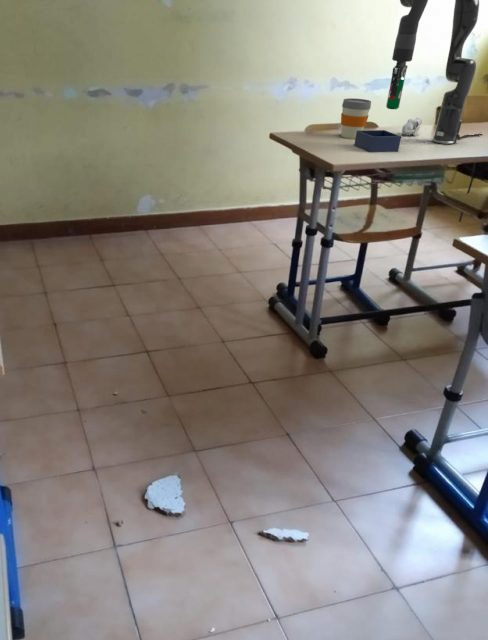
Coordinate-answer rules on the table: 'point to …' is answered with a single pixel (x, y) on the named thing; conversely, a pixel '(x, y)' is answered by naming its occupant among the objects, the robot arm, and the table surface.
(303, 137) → the table surface
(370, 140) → the tote
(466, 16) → the robot arm
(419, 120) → the skull
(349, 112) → the reusable coffee cup
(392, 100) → the soda can
